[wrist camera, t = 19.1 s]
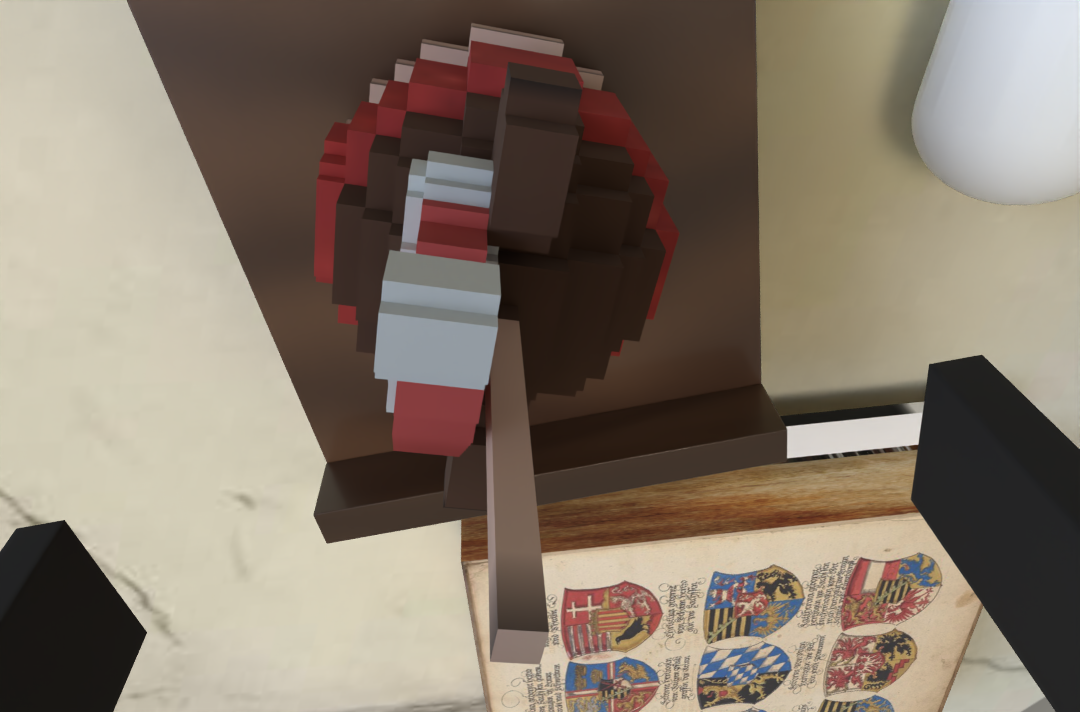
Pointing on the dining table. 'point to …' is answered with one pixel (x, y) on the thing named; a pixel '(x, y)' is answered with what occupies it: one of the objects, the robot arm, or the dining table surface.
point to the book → (745, 587)
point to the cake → (491, 269)
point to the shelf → (330, 347)
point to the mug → (1003, 101)
